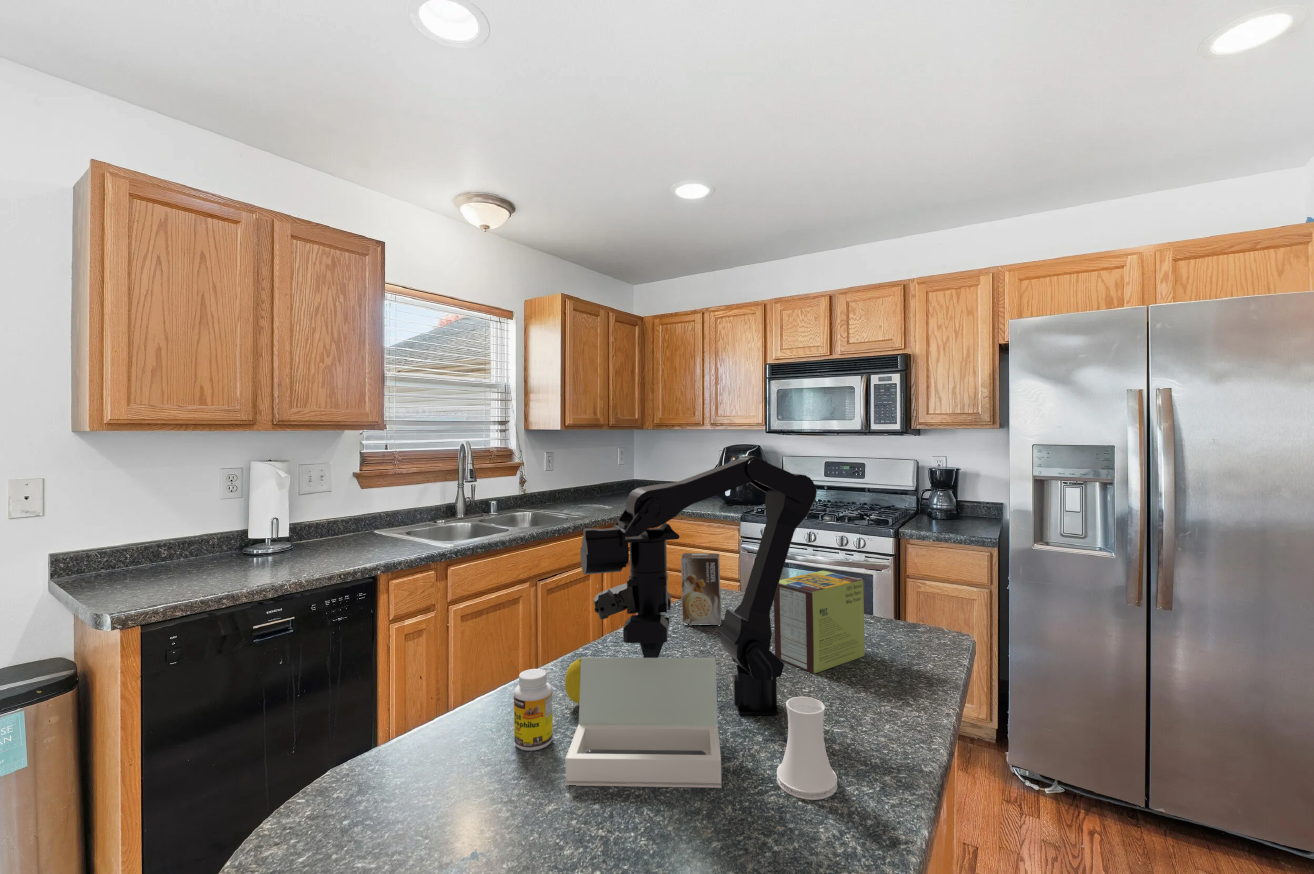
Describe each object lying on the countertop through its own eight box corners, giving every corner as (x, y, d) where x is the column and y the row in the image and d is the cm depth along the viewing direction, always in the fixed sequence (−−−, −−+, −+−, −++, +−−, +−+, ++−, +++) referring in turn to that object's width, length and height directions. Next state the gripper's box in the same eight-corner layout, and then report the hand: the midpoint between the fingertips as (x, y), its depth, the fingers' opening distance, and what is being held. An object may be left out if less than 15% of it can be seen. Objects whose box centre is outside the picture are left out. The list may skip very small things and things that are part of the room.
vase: (827, 807, 71) (826, 724, 71) (768, 788, 75) (766, 709, 75) (844, 776, 77) (842, 699, 77) (788, 760, 81) (787, 687, 81)
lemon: (593, 714, 96) (592, 665, 96) (560, 711, 97) (559, 663, 97) (602, 699, 101) (602, 652, 101) (572, 697, 102) (571, 650, 102)
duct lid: (717, 725, 84) (717, 723, 86) (715, 657, 87) (715, 657, 88) (578, 724, 85) (580, 722, 87) (581, 657, 88) (582, 657, 89)
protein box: (866, 656, 118) (864, 578, 118) (814, 674, 110) (812, 591, 110) (824, 641, 127) (823, 569, 127) (773, 657, 118) (771, 580, 118)
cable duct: (718, 749, 84) (717, 725, 84) (721, 787, 75) (721, 760, 75) (579, 748, 85) (578, 724, 85) (566, 785, 76) (565, 758, 76)
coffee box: (722, 618, 144) (720, 552, 144) (720, 627, 138) (719, 558, 138) (684, 617, 146) (683, 552, 146) (681, 625, 139) (680, 557, 139)
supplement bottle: (507, 749, 85) (505, 678, 85) (526, 731, 91) (525, 664, 91) (541, 755, 84) (540, 683, 84) (559, 735, 89) (558, 668, 89)
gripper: (605, 556, 102) (607, 647, 102) (586, 584, 83) (588, 695, 83) (670, 556, 101) (671, 647, 101) (665, 584, 82) (667, 695, 83)
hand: (650, 668), depth 92 cm, fingers closed
